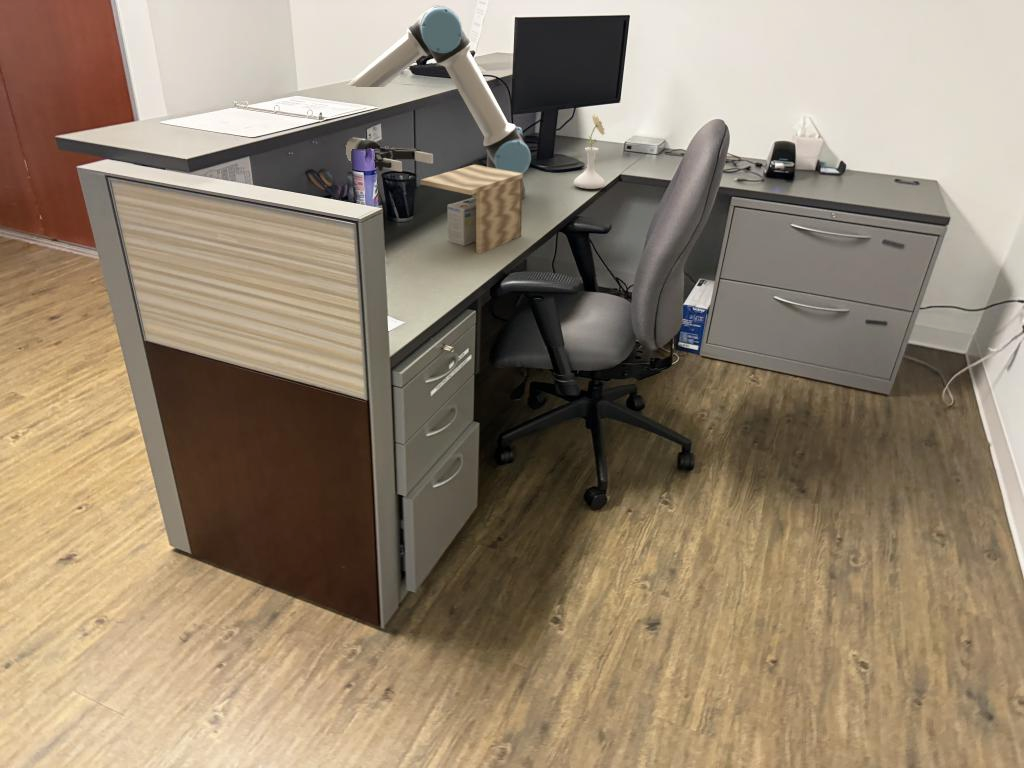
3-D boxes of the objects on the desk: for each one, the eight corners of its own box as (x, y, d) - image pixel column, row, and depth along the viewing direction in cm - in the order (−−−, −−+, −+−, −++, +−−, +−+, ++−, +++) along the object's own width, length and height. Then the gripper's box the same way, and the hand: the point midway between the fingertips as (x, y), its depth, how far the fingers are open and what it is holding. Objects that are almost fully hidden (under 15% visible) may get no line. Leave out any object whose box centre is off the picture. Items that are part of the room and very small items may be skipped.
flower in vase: (603, 192, 268) (610, 119, 256) (572, 190, 269) (576, 117, 257) (605, 183, 279) (611, 112, 267) (575, 181, 281) (579, 111, 269)
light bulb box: (471, 232, 223) (471, 196, 218) (489, 237, 219) (489, 201, 214) (446, 241, 216) (446, 203, 210) (464, 246, 212) (463, 208, 207)
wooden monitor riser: (474, 225, 230) (474, 164, 221) (521, 235, 221) (522, 173, 213) (422, 244, 212) (420, 179, 203) (470, 257, 204) (470, 190, 195)
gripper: (392, 158, 238) (444, 168, 228) (334, 171, 220) (387, 183, 210) (391, 133, 235) (444, 143, 224) (332, 145, 217) (386, 156, 206)
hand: (417, 162), depth 217 cm, fingers open, 13 cm apart
